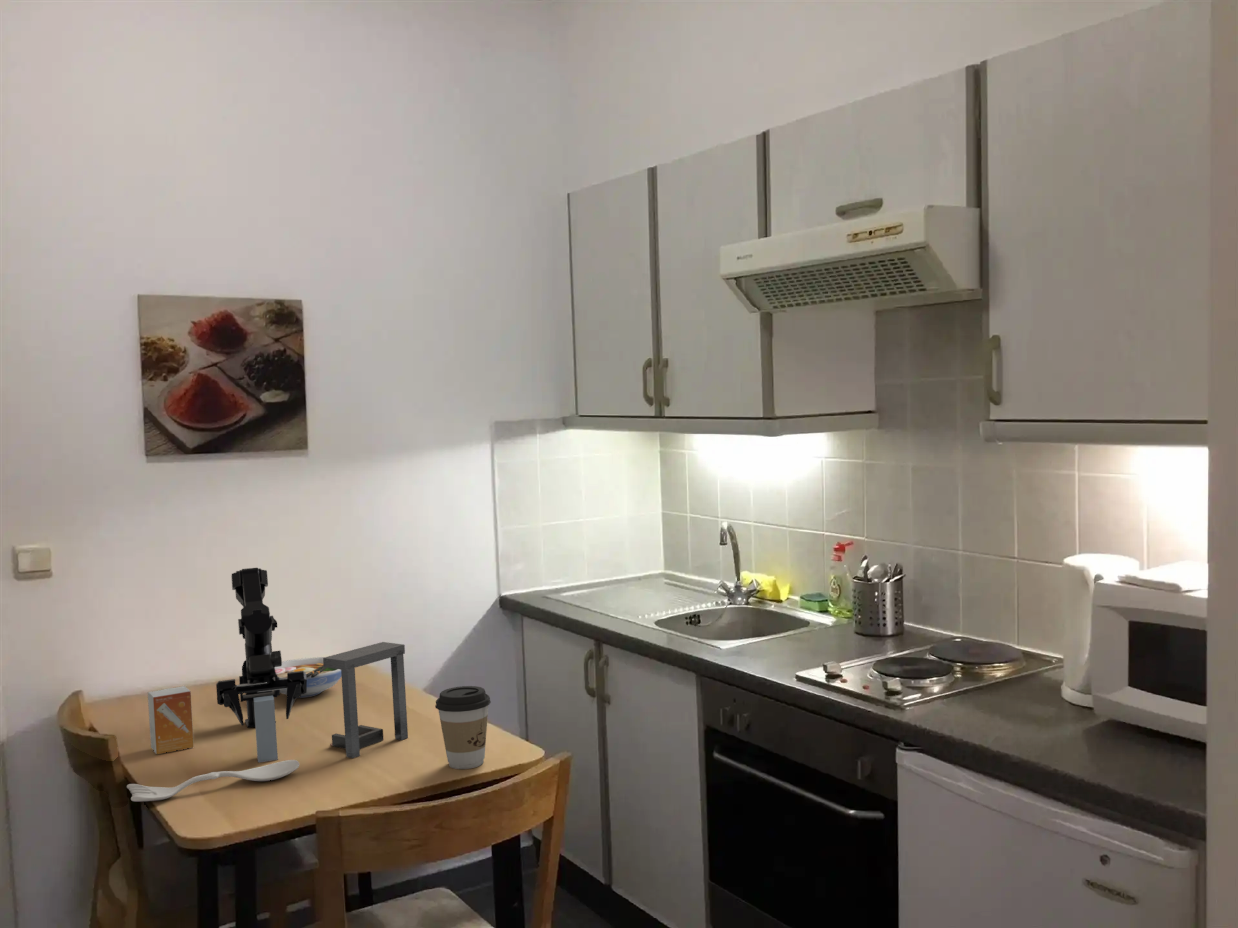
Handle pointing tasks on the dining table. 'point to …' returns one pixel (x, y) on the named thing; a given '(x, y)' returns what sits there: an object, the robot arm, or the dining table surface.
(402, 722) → the overhang seat
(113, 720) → the dining table surface
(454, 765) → the coffee cup
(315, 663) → the ramen bowl
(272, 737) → the blue-grey rectangular block
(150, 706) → the small box
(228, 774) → the spoon
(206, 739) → the dining table surface
